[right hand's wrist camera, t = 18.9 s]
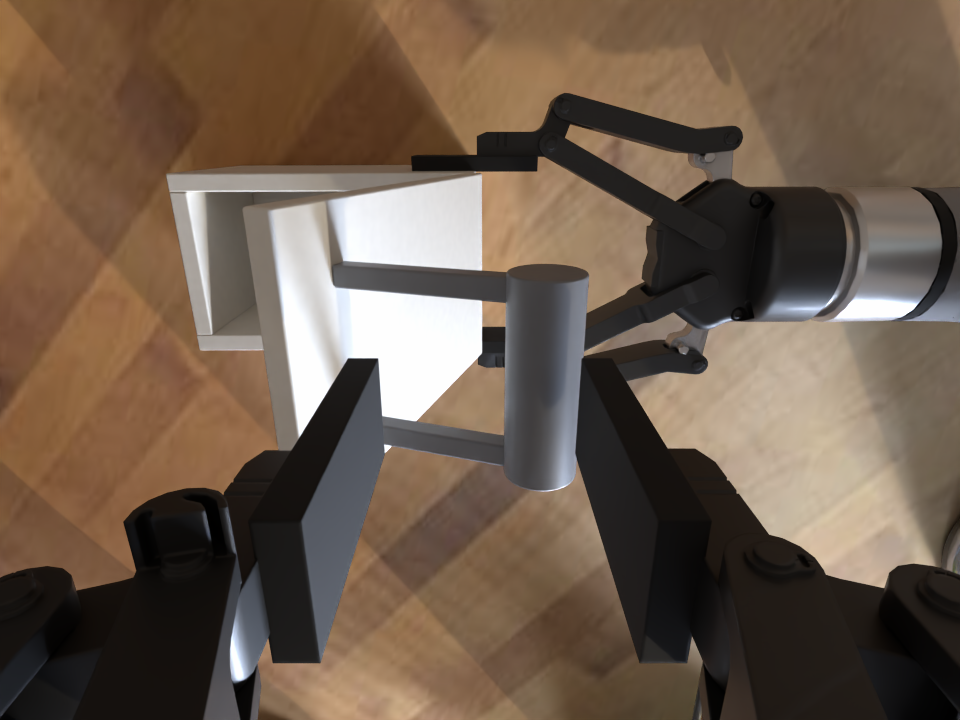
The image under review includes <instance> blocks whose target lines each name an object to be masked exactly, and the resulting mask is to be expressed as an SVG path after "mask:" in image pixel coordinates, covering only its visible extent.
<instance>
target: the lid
mask: <svg viewBox="0 0 960 720" xmlns="http://www.w3.org/2000/svg"><path fill="white" fill-rule="evenodd" d="M243 217H244V224H245V230H246V237H247V244H248V250H249V257H250V264H251V270H252V277H253V283H254V290H255V297H256V303H257V310H258V317H259V323H260V330H261V337H262V343H263V350H264V356H265V363H266V370H267V376H268V383H269V390H270V396H271V403H272V410H273V416H274V423H275V429H276V436H277V443H278V449H279V450H292V448H293V447H294V445H295V444H296V442H297V440H298V439H299V437H300V435H301V434H302V432H303V431H304V429H305V427H306V426H307V424H308V422H309V421H310V419H311V418H312V416H313V414H314V413H315V411H316V409H317V408H318V406H319V405H320V403H321V401H322V400H323V398H324V397H325V395H326V393H327V392H328V390H329V388H330V387H331V385H332V384H333V382H334V380H335V379H336V377H337V375H338V374H339V372H340V371H341V369H342V367H343V366H344V364H345V362H346V361H347V359H348V358H378V360H379V374H380V389H381V404H382V419H383V433H384V448H385V452H386V451H387V450H388V449H389V448H390V447H391V446H394V447H400V448H405V449H411V450H416V451H422V452H428V453H433V454H439V455H444V456H450V457H455V458H461V459H467V460H472V461H478V462H483V463H489V464H494V465H500V466H504V473H505V475H506V477H507V478H508V480H510V481H511V482H512V483H513V484H515V485H517V486H519V487H521V488H524V489H528V490H533V491H552V490H557V489H561V488H563V487H565V486H567V485H569V484H570V483H571V482H572V481H573V479H574V477H575V474H576V461H577V458H576V455H575V448H576V433H577V418H578V404H579V389H580V374H581V360H582V358H583V357H584V342H585V327H586V312H587V297H588V282H589V274H588V272H587V271H585V270H583V269H580V268H577V267H573V266H567V265H557V264H531V265H523V266H518V267H514V268H512V269H509V270H508V271H507V272H494V271H482V175H481V173H463V174H457V175H450V176H443V177H437V178H430V179H423V180H417V181H410V182H403V183H397V184H390V185H384V186H377V187H370V188H364V189H357V190H350V191H344V192H337V193H330V194H324V195H317V196H310V197H304V198H297V199H290V200H284V201H277V202H270V203H264V204H257V205H250V206H245V207H244V208H243ZM482 301H490V302H502V303H506V338H505V411H504V436H503V435H497V434H490V433H484V432H478V431H472V430H466V429H460V428H454V427H447V426H441V425H435V424H429V423H423V422H417V419H418V418H419V417H420V416H421V415H422V414H423V413H424V412H425V411H426V410H427V409H428V408H429V407H430V406H431V405H432V404H433V403H434V402H435V401H436V400H437V399H438V398H439V397H440V396H441V395H442V394H443V393H444V392H445V391H446V390H447V389H448V388H449V387H450V386H451V385H452V384H453V382H454V381H455V380H456V379H457V378H458V377H459V376H460V375H461V374H462V373H463V372H464V371H465V370H466V369H467V368H468V367H469V366H470V365H471V364H472V363H473V362H474V361H475V360H476V359H477V358H478V357H479V356H480V355H481V354H482Z"/></svg>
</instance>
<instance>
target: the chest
mask: <svg viewBox="0 0 960 720" xmlns="http://www.w3.org/2000/svg"><path fill="white" fill-rule="evenodd" d="M463 173H476V172H474V171H412V165H256V166H232V167H223V168H213V169H204V170H194V171H185V172H176V173H167V174H166V178H167V183H168V188H169V191H170V198H171V203H172V208H173V214H174V219H175V224H176V229H177V234H178V239H179V245H180V250H181V255H182V260H183V265H184V270H185V275H186V281H187V286H188V291H189V296H190V301H191V306H192V312H193V317H194V322H195V327H196V332H197V338H198V344H199V349H200V350H263V343H262V337H261V330H260V323H259V317H258V310H257V303H256V297H255V290H254V283H253V277H252V270H251V264H250V257H249V250H248V244H247V237H246V230H245V224H244V217H243V208H244V207H245V206H250V205H257V204H264V203H270V202H277V201H284V200H290V199H297V198H304V197H310V196H317V195H324V194H330V193H337V192H344V191H350V190H357V189H364V188H370V187H377V186H384V185H390V184H397V183H403V182H410V181H417V180H423V179H430V178H437V177H443V176H450V175H457V174H463Z"/></svg>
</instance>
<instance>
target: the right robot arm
mask: <svg viewBox="0 0 960 720" xmlns="http://www.w3.org/2000/svg"><path fill="white" fill-rule="evenodd" d="M384 455H385V448H384V433H383V419H382V404H381V389H380V374H379V360H378V358H348V359H347V361H346V362H345V364H344V366H343V367H342V369H341V371H340V372H339V374H338V375H337V377H336V379H335V380H334V382H333V384H332V385H331V387H330V388H329V390H328V392H327V393H326V395H325V397H324V398H323V400H322V401H321V403H320V405H319V406H318V408H317V409H316V411H315V413H314V414H313V416H312V418H311V419H310V421H309V422H308V424H307V426H306V427H305V429H304V431H303V432H302V434H301V435H300V437H299V439H298V440H297V442H296V444H295V445H294V447H293V448H292V450H265V451H264V452H262V453H261V454H259V455H258V456H256V457H255V458H253V459H252V460H250V461H249V462H247V463H246V464H245V465H244V466H243V467H242V469H241V470H240V471H239V473H238V474H237V476H236V477H235V478H234V482H233V483H231V484H230V485H229V486H228V488H227V489H226V490H225V492H224V495H222V494H221V493H220V492H219V491H216V490H212V489H207V488H186V489H182V490H177V491H173V492H168V493H165V494H163V495H161V496H158V497H156V498H153V499H151V500H148V501H147V502H145V503H144V504H142V505H141V506H139V507H138V508H136V509H135V510H133V511H132V512H131V514H130V515H129V516H128V517H127V518H126V520H125V521H124V522H123V523H124V526H125V530H126V534H127V537H128V541H129V545H130V549H131V552H132V556H133V560H134V563H135V567H136V573H135V575H134V578H130V579H127V580H123V581H119V582H115V583H110V584H105V585H101V586H96V587H92V588H87V589H82V590H78V591H76V588H75V585H74V582H73V579H72V576H71V575H70V574H69V573H68V572H67V571H65V570H64V569H63V568H57V567H50V566H45V567H37V568H30V569H25V570H21V571H17V572H15V573H11V574H8V575H5V576H3V577H1V578H0V720H258V711H259V701H260V692H261V681H260V674H259V669H258V664H257V663H258V660H259V658H260V656H261V653H262V651H263V649H264V646H265V644H266V642H267V639H268V638H269V644H270V650H271V655H272V661H273V663H321V659H322V656H323V653H324V650H325V646H326V643H327V640H328V637H329V633H330V630H331V627H332V624H333V620H334V617H335V614H336V611H337V607H338V604H339V601H340V598H341V594H342V591H343V588H344V585H345V581H346V578H347V575H348V572H349V568H350V565H351V562H352V559H353V555H354V552H355V549H356V546H357V542H358V539H359V536H360V533H361V529H362V526H363V523H364V520H365V516H366V513H367V510H368V507H369V503H370V500H371V497H372V494H373V490H374V487H375V484H376V481H377V477H378V474H379V471H380V468H381V464H382V461H383V458H384ZM575 455H576V458H577V461H578V464H579V468H580V471H581V474H582V477H583V481H584V484H585V487H586V490H587V494H588V497H589V500H590V503H591V507H592V510H593V513H594V516H595V520H596V523H597V526H598V529H599V533H600V536H601V539H602V542H603V546H604V549H605V552H606V555H607V559H608V562H609V565H610V568H611V572H612V575H613V578H614V581H615V585H616V588H617V591H618V594H619V598H620V601H621V604H622V607H623V611H624V614H625V617H626V620H627V624H628V627H629V630H630V633H631V637H632V640H633V643H634V646H635V650H636V653H637V656H638V659H639V663H687V661H688V655H689V650H690V644H691V638H692V637H693V639H694V641H695V643H696V646H697V648H698V650H699V653H700V655H701V657H702V660H703V664H702V669H701V674H700V679H699V685H698V690H697V695H696V701H695V706H694V712H693V719H692V720H700V719H701V714H702V718H703V720H960V575H959V574H957V573H954V572H952V571H949V570H945V569H942V568H938V567H934V566H927V565H920V564H908V565H901V566H897V567H896V568H895V569H894V570H892V571H891V572H890V573H889V576H888V579H887V582H886V585H885V588H880V587H875V586H871V585H866V584H861V583H857V582H852V581H847V580H843V579H839V578H835V577H831V576H828V575H826V574H825V572H824V570H823V568H822V567H821V566H820V564H819V563H818V561H817V560H816V559H815V557H813V556H812V555H811V554H809V553H808V552H807V551H805V550H804V549H803V548H801V547H800V546H798V545H796V544H794V543H791V542H789V541H787V540H785V539H783V538H780V537H776V536H772V535H769V534H768V533H767V531H766V530H765V529H764V527H763V526H762V524H761V523H760V522H759V520H758V519H757V518H756V516H755V515H754V514H753V512H752V511H751V510H750V508H749V507H748V506H747V504H746V503H745V502H744V500H743V499H742V497H741V496H740V495H739V494H737V493H736V489H735V488H734V487H733V485H732V484H731V483H730V481H727V477H726V476H725V475H724V473H723V472H722V470H721V469H720V468H719V466H718V465H717V464H716V462H714V461H713V460H711V459H710V458H708V457H707V456H705V455H704V454H702V453H701V452H699V451H698V450H696V449H668V448H667V447H666V445H665V444H664V442H663V440H662V439H661V437H660V435H659V434H658V432H657V431H656V429H655V427H654V426H653V424H652V422H651V421H650V419H649V418H648V416H647V414H646V413H645V411H644V409H643V408H642V406H641V405H640V403H639V401H638V400H637V398H636V397H635V395H634V393H633V392H632V390H631V388H630V387H629V385H628V384H627V382H626V380H625V379H624V377H623V375H622V374H621V372H620V371H619V369H618V367H617V366H616V364H615V362H614V361H613V359H612V358H582V360H581V374H580V389H579V404H578V418H577V433H576V448H575Z"/></svg>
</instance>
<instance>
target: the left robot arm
mask: <svg viewBox="0 0 960 720" xmlns="http://www.w3.org/2000/svg"><path fill="white" fill-rule="evenodd" d="M570 124H571V125H575V126H578V127H582V128H586V129H589V130H593V131H597V132H600V133H604V134H608V135H611V136H615V137H618V138H622V139H626V140H629V141H633V142H637V143H640V144H644V145H647V146H651V147H655V148H658V149H662V150H666V151H670V152H676V153H688V161H689V164H690V165H691V166H692V167H694V168H699V169H702V170H703V171H704V172H705V173H706V175H707V180H706V181H704V182H703V183H701V184H700V185H698V186H697V187H696V188H694V189H693V190H691V191H690V192H688V193H687V194H685V195H684V196H682V197H681V198H680V199H678V200H677V201H673V200H672V199H670V198H668V197H666V196H665V195H663V194H661V193H659V192H657V191H655V190H653V189H651V188H650V187H648V186H646V185H645V184H643V183H641V182H639V181H638V180H636V179H634V178H633V177H631V176H629V175H627V174H626V173H624V172H622V171H621V170H619V169H617V168H615V167H614V166H612V165H610V164H609V163H607V162H605V161H603V160H602V159H600V158H598V157H596V156H595V155H593V154H591V153H590V152H588V151H586V150H584V149H583V148H581V147H579V146H578V145H576V144H574V143H572V142H571V141H569V140H567V139H566V138H565V136H566V133H567V131H568V128H569V125H570ZM742 139H743V134H742V131H741V130H740V128H738V127H736V126H722V127H709V128H700V129H695V128H691V127H687V126H684V125H680V124H677V123H673V122H670V121H666V120H662V119H659V118H655V117H652V116H648V115H645V114H641V113H637V112H634V111H630V110H627V109H623V108H620V107H616V106H612V105H609V104H605V103H602V102H598V101H595V100H591V99H588V98H584V97H580V96H577V95H573V94H570V93H563V94H561V95H559V96H557V97H555V98H554V99H553V100H552V101H551V102H550V104H549V109H548V111H547V114H546V117H545V120H544V122H543V124H542V126H541V127H540V128H539V129H538V130H536V131H534V132H486V133H483V134H481V135H479V136H477V155H415V156H411V160H412V171H474V172H478V171H537V163H538V157H546V158H547V159H549V160H551V161H553V162H554V163H556V164H558V165H560V166H561V167H563V168H565V169H567V170H568V171H570V172H572V173H574V174H575V175H577V176H579V177H581V178H582V179H584V180H586V181H588V182H589V183H591V184H593V185H595V186H596V187H598V188H600V189H602V190H603V191H605V192H607V193H609V194H610V195H612V196H614V197H616V198H617V199H619V200H621V201H623V202H624V203H626V204H628V205H630V206H631V207H633V208H635V209H636V210H638V211H640V212H641V213H643V214H645V215H647V216H648V217H650V218H652V219H653V221H652V223H651V225H650V226H647V232H646V244H647V250H648V254H647V257H646V259H645V262H644V265H643V271H642V279H643V280H644V281H645V282H643V283H641V284H639V285H637V286H635V287H633V288H631V289H630V290H628V291H627V293H626V294H625V295H623V296H621V297H619V298H617V299H615V300H613V301H611V302H609V303H607V304H605V305H603V306H601V307H599V308H597V309H595V310H593V311H591V312H589V313H587V314H586V327H585V342H584V351H586V350H588V349H590V348H592V347H595V346H597V345H599V344H601V343H603V342H605V341H607V340H609V339H611V338H613V337H615V336H617V335H619V334H621V333H623V332H626V331H628V330H630V329H632V328H634V327H636V326H638V325H640V324H642V323H650V322H654V321H656V320H658V319H660V318H662V317H664V316H667V315H669V314H671V313H673V312H674V313H676V314H677V315H678V316H680V317H681V318H682V319H683V320H685V321H686V322H687V325H686V327H685V328H684V329H683V330H681V331H679V332H673V333H670V334H669V335H668V336H667V338H666V340H652V341H647V342H642V343H638V344H634V345H630V346H625V347H621V348H617V349H613V350H608V351H604V352H600V353H595V354H591V355H587V356H584V357H583V358H612V359H613V361H614V362H615V364H616V366H617V367H618V369H619V371H620V372H621V374H622V375H623V377H624V379H625V380H626V381H629V380H634V379H638V378H642V377H647V376H651V375H655V374H660V373H664V372H676V373H687V374H700V373H702V372H704V371H705V370H706V368H707V366H708V361H707V359H706V358H705V357H704V356H703V355H702V354H703V350H704V346H705V342H706V338H707V334H708V330H709V329H712V328H714V327H716V326H718V325H720V324H723V323H726V322H731V321H741V322H788V321H806V320H809V319H812V320H814V321H819V322H842V321H950V322H959V323H960V187H951V188H919V187H829V188H827V189H825V190H823V189H821V188H818V187H745V186H743V185H741V184H739V183H738V182H736V181H734V180H732V162H733V150H735V149H736V148H738V147H739V146H740V144H741V142H742ZM505 338H506V327H482V354H481V355H480V356H479V357H478V365H481V366H484V367H486V368H495V367H497V368H502V367H505ZM942 569H945V570H949V571H952V572H954V573H957V574H959V575H960V518H959V520H958V521H957V522H956V524H955V525H954V527H953V528H952V530H951V532H950V534H949V536H948V538H947V540H946V543H945V546H944V549H943V554H942Z"/></svg>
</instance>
